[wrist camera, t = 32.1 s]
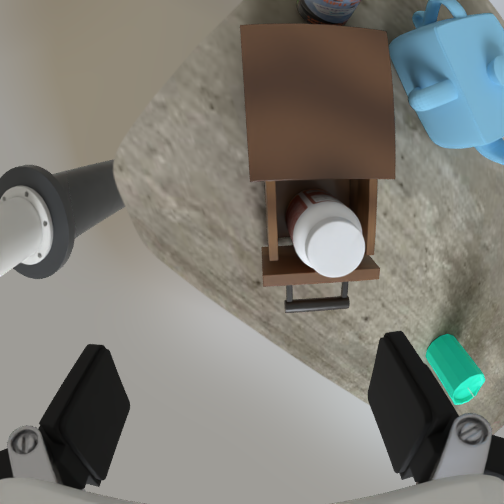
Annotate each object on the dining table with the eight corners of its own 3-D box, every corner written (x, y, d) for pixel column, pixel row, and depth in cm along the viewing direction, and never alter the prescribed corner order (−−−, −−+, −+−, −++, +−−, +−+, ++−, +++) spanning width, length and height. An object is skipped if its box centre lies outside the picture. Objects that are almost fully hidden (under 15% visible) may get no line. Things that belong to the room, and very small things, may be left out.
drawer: (354, 286, 38) (373, 319, 31) (263, 292, 39) (265, 328, 31) (358, 145, 32) (385, 148, 25) (255, 147, 33) (255, 149, 25)
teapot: (358, 105, 31) (413, 92, 19) (398, 1, 26) (451, -40, 13) (470, 174, 34) (539, 197, 21) (500, 77, 28) (566, 73, 15)
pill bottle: (303, 252, 36) (320, 300, 25) (273, 207, 34) (281, 239, 23) (349, 223, 34) (386, 261, 24) (322, 176, 33) (352, 195, 22)
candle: (436, 367, 45) (465, 415, 34) (419, 354, 44) (450, 405, 32) (460, 342, 43) (495, 387, 32) (445, 328, 42) (482, 375, 31)
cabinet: (361, 167, 34) (395, 179, 25) (251, 170, 34) (250, 182, 25) (355, 54, 29) (386, 31, 20) (244, 53, 30) (240, 24, 21)
